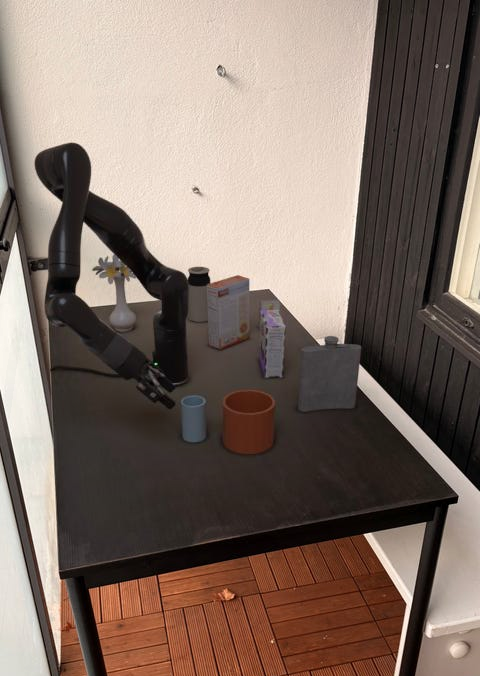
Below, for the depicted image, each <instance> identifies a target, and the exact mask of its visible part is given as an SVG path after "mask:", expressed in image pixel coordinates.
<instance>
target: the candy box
mask: <svg viewBox="0 0 480 676" xmlns="http://www.w3.org/2000/svg"><path fill="white" fill-rule="evenodd" d="M285 343H286V324H285V322H284V319H283V317H282V315H281V311H280V312H279V310H261V320H260V329H259V362H260V367H261V370H262V374H263V378H267V379H272V378H273V379H274V378H275V379H278V378H280V379H281V378H283V376H284V360H285Z"/></svg>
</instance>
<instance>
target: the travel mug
mask: <svg viewBox="0 0 480 676" xmlns="http://www.w3.org/2000/svg"><path fill="white" fill-rule="evenodd" d="M187 272H188V274H189V275H188V276H187V279H188V284H189V311H188V319H189V321H191V322H194V323H195V322H196V323H205V322H208V312H207V284H210V283H211V277H210V275H209V272H210V268H209V267H206V266H191V267H189V268H188V269H187Z"/></svg>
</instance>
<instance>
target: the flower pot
mask: <svg viewBox="0 0 480 676" xmlns="http://www.w3.org/2000/svg"><path fill="white" fill-rule="evenodd" d="M221 402H222V406H221V407H222V444H223V446H224V447H225V448H226V449H228V450H229V451H231V452H234V453H236V454H241V455H255V454H260V453H264V452H266V451H268V450H269V449H270V448H272V446H273V445H274V440H275V422H276V420H275V419H276V400H275V398H274V397H273V396H272V395H271V394H269V393H267V392H265V391H261V390H256V389H240V390H235V391H232V392H229V393H227V395H225V396H224V397H223V398H222V401H221Z"/></svg>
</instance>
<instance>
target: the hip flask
mask: <svg viewBox="0 0 480 676" xmlns="http://www.w3.org/2000/svg"><path fill="white" fill-rule="evenodd" d="M323 341H324V344H321V345H319V344H318V345H311V346H303V347H302V348H301V349H300V350H301V351H300V368H299V384H298V399H297V400H298V401H297V410H298V411H299V412H301V413H306V412H312V411H322V410H334V409H337V410H339V409H343V410H344V409H345V410H347V409H349V410H351V409H354V408H356V401H357V400H356V399H357V393H358V383H359V374H360V373H359V372H360V363H361V355H362V354H361V353H362V346H361V345H360V344H357V343H356V344H353V343H352V344H351V343H339V337H337V336H334V335H327V336H324V340H323Z"/></svg>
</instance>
